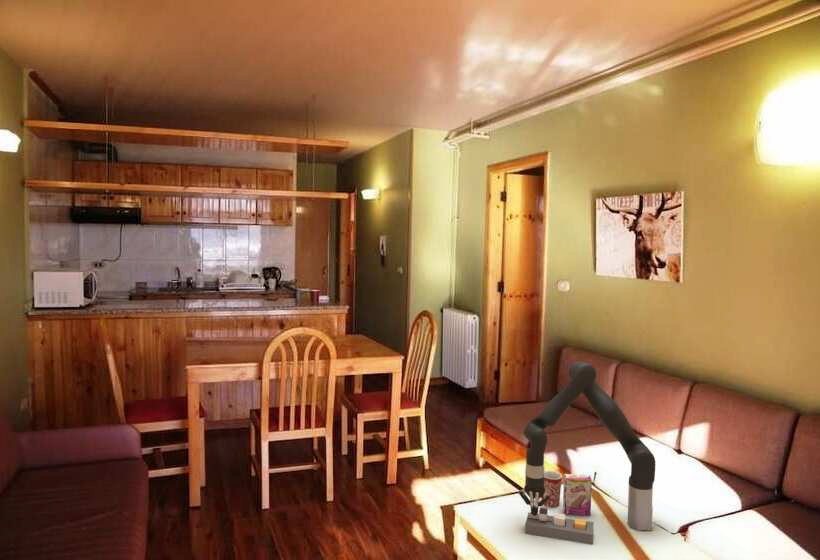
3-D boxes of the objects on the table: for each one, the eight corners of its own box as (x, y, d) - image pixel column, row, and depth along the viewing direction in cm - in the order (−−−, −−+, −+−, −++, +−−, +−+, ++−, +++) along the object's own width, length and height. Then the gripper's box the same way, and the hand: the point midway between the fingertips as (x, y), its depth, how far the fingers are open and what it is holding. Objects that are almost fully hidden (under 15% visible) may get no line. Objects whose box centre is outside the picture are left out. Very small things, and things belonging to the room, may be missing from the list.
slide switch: (547, 522, 235) (547, 508, 234) (546, 527, 231) (546, 513, 231) (540, 521, 236) (540, 507, 235) (538, 526, 232) (539, 511, 232)
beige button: (565, 521, 233) (565, 514, 232) (564, 526, 229) (564, 519, 228) (554, 520, 234) (554, 512, 234) (553, 525, 230) (553, 517, 230)
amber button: (585, 527, 230) (585, 520, 230) (585, 532, 226) (585, 525, 226) (574, 525, 232) (575, 518, 231) (574, 530, 228) (574, 523, 227)
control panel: (593, 531, 232) (593, 522, 232) (592, 544, 223) (593, 534, 222) (528, 521, 241) (528, 512, 240) (525, 533, 231) (525, 524, 231)
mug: (561, 500, 260) (561, 471, 258) (562, 509, 251) (562, 479, 250) (532, 497, 262) (533, 468, 261) (532, 506, 254) (532, 477, 252)
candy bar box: (564, 515, 246) (565, 478, 244) (562, 509, 251) (563, 473, 249) (591, 516, 245) (592, 479, 243) (588, 510, 250) (589, 474, 248)
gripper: (552, 472, 234) (551, 512, 236) (519, 468, 239) (519, 508, 240) (550, 479, 227) (550, 521, 229) (517, 475, 232) (516, 516, 233)
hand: (534, 514), depth 234 cm, fingers closed
